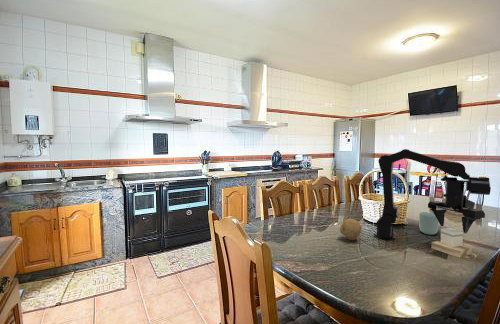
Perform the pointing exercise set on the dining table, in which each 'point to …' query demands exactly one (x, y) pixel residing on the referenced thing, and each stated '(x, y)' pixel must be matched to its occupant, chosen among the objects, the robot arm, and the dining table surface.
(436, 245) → the oak block
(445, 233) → the white lidded box
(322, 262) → the dining table surface
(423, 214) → the cup
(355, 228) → the natural sponge
